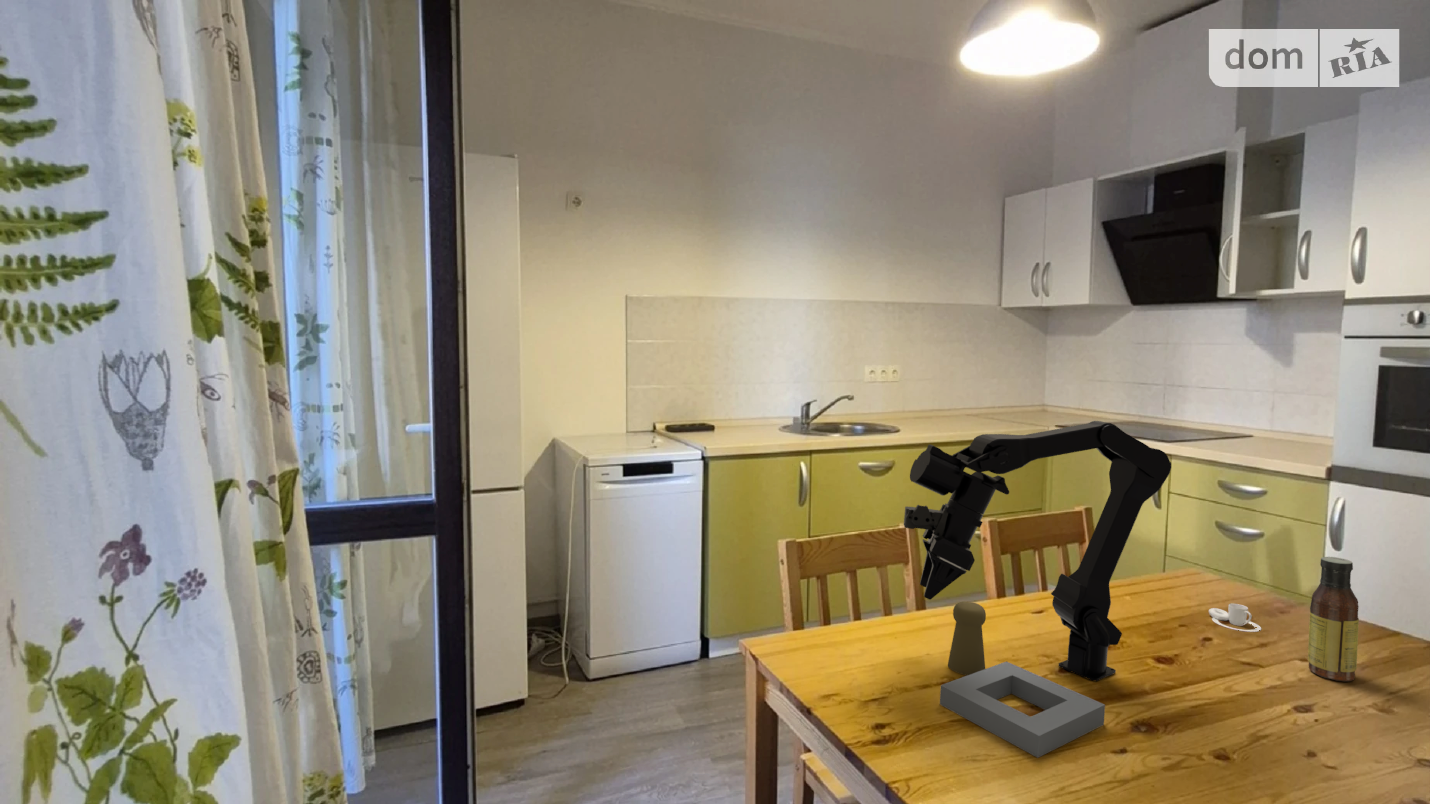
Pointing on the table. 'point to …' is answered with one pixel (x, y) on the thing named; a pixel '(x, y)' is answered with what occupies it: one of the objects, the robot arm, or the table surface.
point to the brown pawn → (967, 639)
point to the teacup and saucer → (1234, 616)
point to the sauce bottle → (1334, 623)
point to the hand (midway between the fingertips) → (924, 591)
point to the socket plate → (1033, 734)
